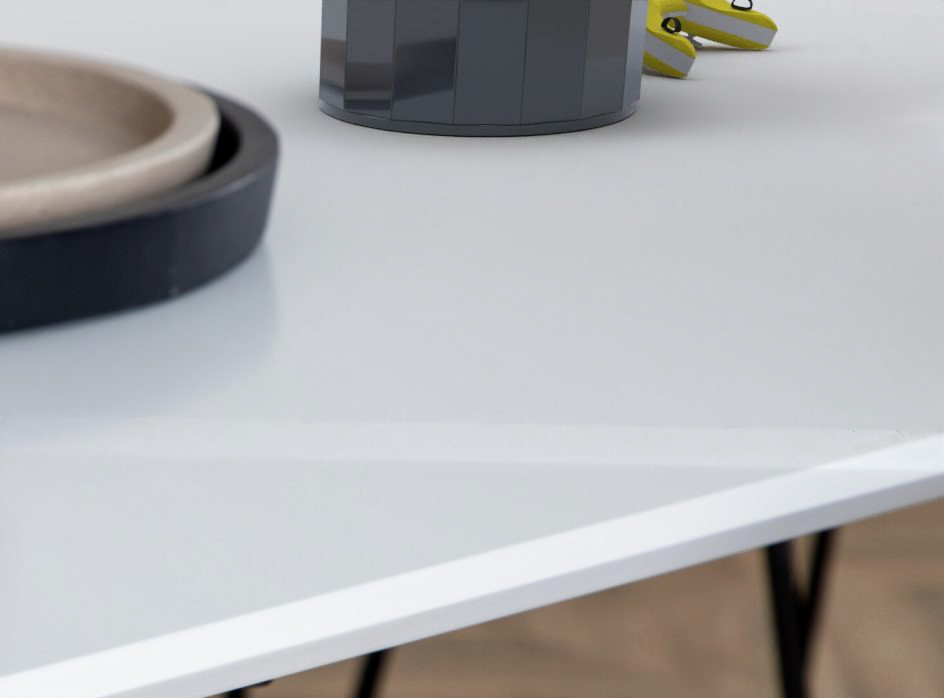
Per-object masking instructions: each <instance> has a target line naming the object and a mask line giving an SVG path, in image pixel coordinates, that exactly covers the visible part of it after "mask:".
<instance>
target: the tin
mask: <svg viewBox="0 0 944 698" xmlns="http://www.w3.org/2000/svg"><path fill="white" fill-rule="evenodd" d="M648 1H649V0H321V7H320V11H321V12H320V37H319V41H320V43H319V68H318V72H319V73H318V105H319V109H321V110H322V111H323V113H325V114H327V115H328V116H330V117H333V118H336V119H338V120H341V121H344V122H346V123H347V122H348V123H351V124H353V125H354V124H355V125H360V126H363V127H368V128H375V129H379V130H387V131H392V132H393V131H394V132H403V133H411V134H421V135H422V134H423V135H436V136H455V137H456V136H458V137H514V136H515V137H516V136H536V135H549V134H559V133H569V132H575V131H582V130H583V131H584V130H588V129H593V128H599V127H604V126H607V125H610V124H614V123H617V122H620V121H622V120H625V119H627V118H629V117H630V116H631V115H632V114H633V113H635V111H636V108H637V102H638V101H639V100H640V98H641V89H642V77H643V65H644V64H643V56H644V45H645V34H646V23H647V12H648Z"/></svg>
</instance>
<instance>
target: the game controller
mask: <svg viewBox="0 0 944 698" xmlns="http://www.w3.org/2000/svg"><path fill="white" fill-rule="evenodd" d="M735 2H736V0H732V1H731V2H730V1H728V0H649V1H648V12H647V23H646V34H645V45H644V56H643V65H644V66H646V67H647V68H650V69H652V70H654V71H656V72H658V73H660V74H663V75H667V76H670V77H675V78H686V77H687V76H688V74H689V72H690V70H691V68H692V67H693V65H694V63H695V60H696V59H697V52H696V48H697V49H701V48H702V47H703V43H701V42H700V41H697V39H694V38H695V37H698V38H701V39H703V40H708V41H710V42H713V43H717V44H722V45H724V46H725V45H726V46H730V47H734V48H739V49H745V50H758V51H760V50H761V51H762V50H766V49H769V48H770V47H771V44H772V43H773V40H774V39H775V36H776V34H777V33H778V26H777V23H775V22H774V20H773V19H772V18H771V17H769V15H767V14H765V13H762V12H760V11H758V10H753V7H754V3H753V0H747V2H749V6H740V5H736V4H734V3H735ZM681 32H682V33H685V34H687V35H685V34H684V35H683V34H681Z"/></svg>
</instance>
